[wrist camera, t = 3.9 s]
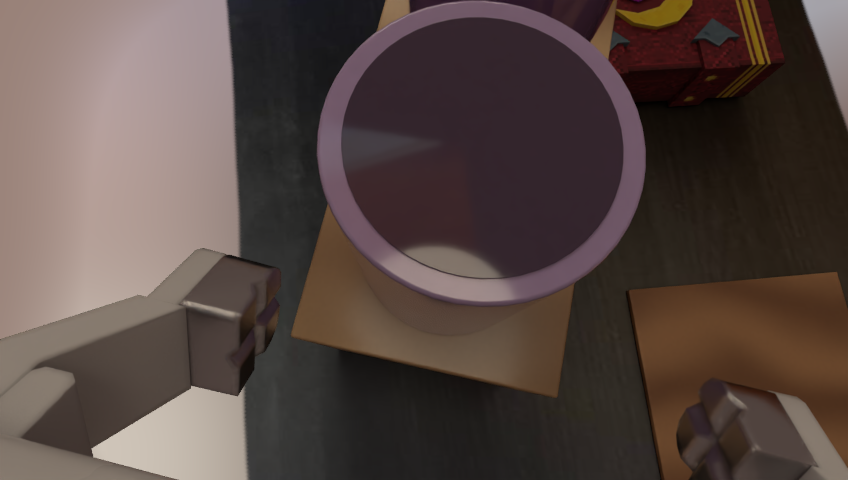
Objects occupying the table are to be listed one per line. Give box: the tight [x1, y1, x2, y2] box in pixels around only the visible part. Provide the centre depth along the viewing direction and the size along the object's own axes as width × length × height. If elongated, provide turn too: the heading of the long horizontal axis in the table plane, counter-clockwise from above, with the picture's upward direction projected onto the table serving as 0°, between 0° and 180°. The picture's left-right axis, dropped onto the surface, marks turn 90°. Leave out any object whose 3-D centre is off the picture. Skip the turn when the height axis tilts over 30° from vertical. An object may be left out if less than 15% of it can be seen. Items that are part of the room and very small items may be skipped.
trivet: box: [626, 272, 848, 480], centre depth 29 cm, size 13×13×1 cm
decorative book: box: [608, 0, 785, 107], centre depth 33 cm, size 11×16×5 cm
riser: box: [291, 0, 617, 398], centre depth 26 cm, size 17×10×12 cm, turn 167°
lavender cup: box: [317, 0, 646, 336], centre depth 14 cm, size 7×7×9 cm
